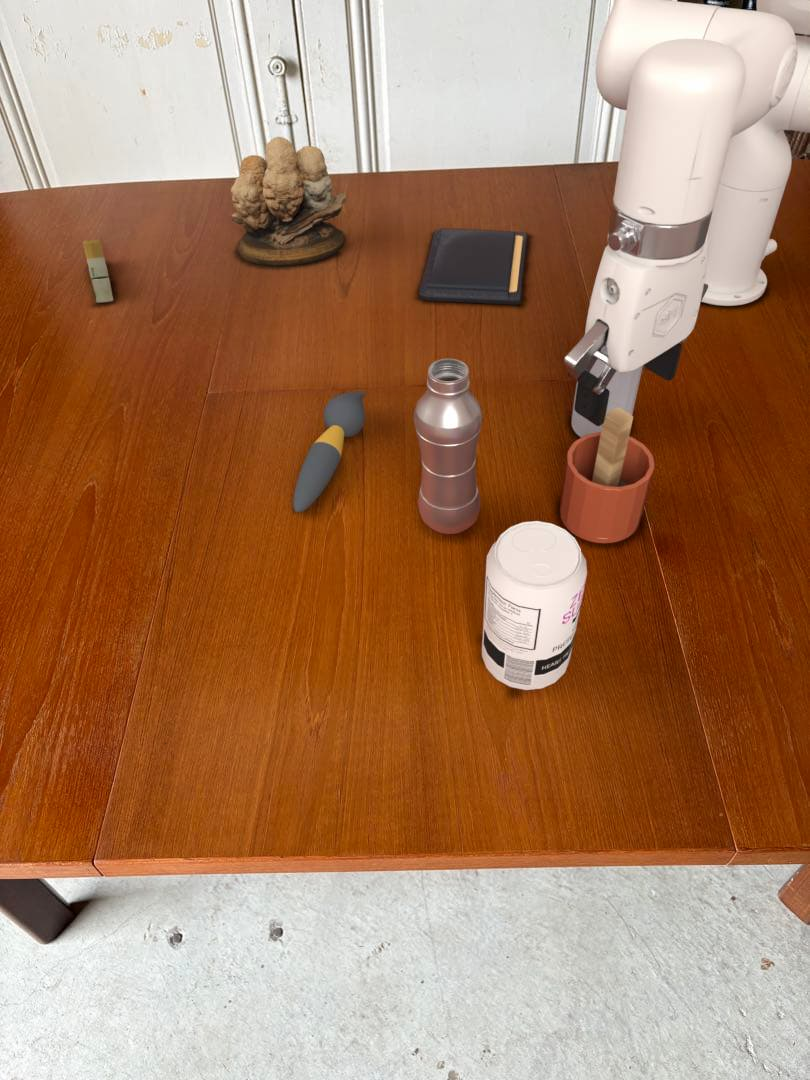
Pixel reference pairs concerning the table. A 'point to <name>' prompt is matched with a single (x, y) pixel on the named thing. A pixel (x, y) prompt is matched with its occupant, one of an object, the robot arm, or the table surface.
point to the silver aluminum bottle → (448, 448)
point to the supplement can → (532, 604)
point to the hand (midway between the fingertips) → (624, 394)
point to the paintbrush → (328, 447)
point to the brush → (612, 448)
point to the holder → (604, 492)
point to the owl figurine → (286, 206)
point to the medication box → (98, 271)
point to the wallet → (475, 266)
